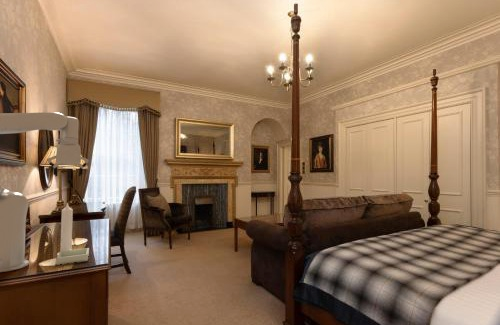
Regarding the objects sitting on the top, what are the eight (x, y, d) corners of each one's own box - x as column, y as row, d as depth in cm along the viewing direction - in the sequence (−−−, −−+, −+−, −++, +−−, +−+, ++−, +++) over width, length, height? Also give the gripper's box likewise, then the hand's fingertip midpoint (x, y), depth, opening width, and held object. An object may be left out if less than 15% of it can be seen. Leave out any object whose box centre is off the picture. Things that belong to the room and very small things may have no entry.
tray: (87, 261, 120) (87, 254, 120) (56, 265, 115) (56, 258, 115) (88, 254, 131) (89, 247, 131) (60, 257, 125) (60, 251, 125)
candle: (54, 255, 129) (55, 203, 130) (69, 251, 135) (70, 201, 136) (62, 257, 126) (63, 204, 127) (77, 253, 132) (79, 202, 133)
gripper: (46, 140, 125) (45, 176, 124) (89, 142, 134) (88, 176, 134) (48, 141, 131) (47, 176, 130) (89, 143, 140) (88, 176, 140)
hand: (68, 176), depth 132 cm, fingers open, 9 cm apart
